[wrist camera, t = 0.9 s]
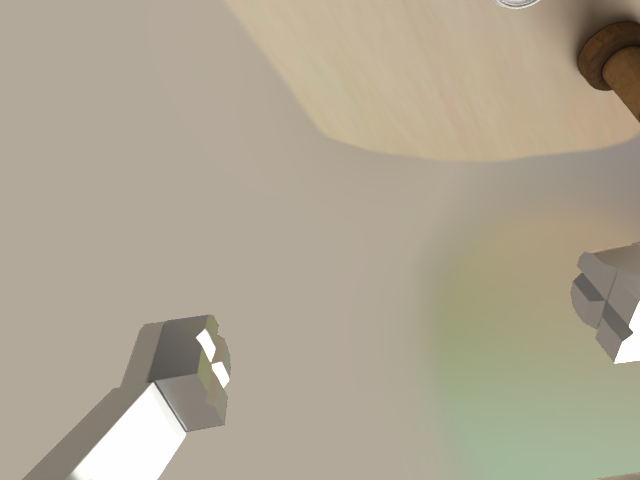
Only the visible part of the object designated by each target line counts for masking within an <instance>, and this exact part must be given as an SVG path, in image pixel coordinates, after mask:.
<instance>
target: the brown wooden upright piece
mask: <svg viewBox="0 0 640 480" xmlns="http://www.w3.org/2000/svg"><path fill="white" fill-rule="evenodd" d="M578 68H579V71H580V73H581V74H582V76H583V77H584V78H585V79H586V81H587V82H588V83H589V84H590V85H591V86H592V87H593V88H595V89H598V90H603V91H609V90H614V92H615V93H616V94H617V95H618V96H619V98H620V99H621V100H622V101H623V103H624V104H625V105H626V106H627V107H628V109H629V110H630V111H631V112H632V114H633V115H634V116H635V117H636V119H637V120H638V121H639V122H640V25H639V24H637V23H634V22H619V23H615V24H612V25H610V26H608V27H606V28H604V29H602V30H600V31H599V32H598V33H596V34H595V35H594V36H593V37H592V38H591V39H590V40H589V41H588V42H587V43H586V44H585V46H584V47H583V49H582V51H581V53H580V55H579V59H578Z"/></svg>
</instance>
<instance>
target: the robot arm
mask: <svg viewBox="0 0 640 480" xmlns="http://www.w3.org/2000/svg"><path fill="white" fill-rule="evenodd" d="M577 267H578V268H579V269H580V270H581V272H582V273H581V274H580V275H579V276H578V277H577V278H576V279H575V280H574V281H573V283H572V288H571V298H572V304H573V307H574V309H575V311H576V313H577V315H578V316H579V317H580V319H581V320H582V321H583V322H584V323H586V324H587V325H590V326H591V327H593V328H595V329H596V337H595V338H596V340H597V341H598V342H599V344H600V345H601V346H602V348H603V349H604V350H605V351H606V353H607V354H608V355H609V357H610V358H611V359H612V360H613V362H614V363H619V362H627V361H634V360H640V242H636V243H632V244H626V245H620V246H615V247H609V248H603V249H598V250H592V251H586V252H584V253H583V254H582V255H581V256H580V257H579V261H578V264H577ZM218 327H219V325H218V323H217V321H216V319H215V317H214V315H203V316H196V317H189V318H182V319H175V320H168V321H165V322H157V323H150V324H145V325H144V326H143V327H142V328H141V329H140V331H139V334H138V337H137V340H136V343H135V346H134V349H133V351H132V354H131V357H130V360H129V363H128V366H127V369H126V372H125V375H124V378H123V381H122V383H121V387H119V388H114V389H112V390H111V391H110V392H109V393H108V394H107V395H106V396H105V397H104V398H103V399H102V400H101V401H100V402H99V403H98V404H97V405H96V406H95V407H94V408H93V409H92V410H91V411H90V412H89V413H88V414H87V415H86V416H85V417H84V418H83V419H82V420H81V421H80V422H79V423H78V424H77V425H76V426H75V427H74V428H73V429H72V430H71V431H70V432H69V434H67V435H66V436H65V437H64V438H63V439H62V440H61V441H60V442H59V443H58V444H57V445H56V446H55V447H54V448H53V449H52V450H51V451H50V452H49V453H48V454H47V455H46V456H45V457H44V458H43V459H42V460H41V461H40V462H39V463H38V464H37V465H36V466H35V467H34V468H33V469H32V470H31V471H30V472H29V473H28V474H27V475H26V476H25V477H24V478H23V479H22V480H157V479H158V477H159V476H160V474H161V473H162V471H163V470H164V468H165V467H166V465H167V464H168V462H169V460H170V459H171V457H172V456H173V454H174V453H175V451H176V450H177V448H178V447H179V445H180V444H181V442H182V441H183V439H184V437H185V436H186V432H189V431H195V430H200V429H205V428H211V427H216V426H221V425H224V424H225V416H226V408H227V399H228V397H227V395H226V393H225V391H224V389H223V387H224V386H225V385H226V383H227V382H228V381H229V379H230V370H231V369H230V368H231V367H230V354H229V350H228V346H227V344H226V341H225V339H224V338H222V337H220V336H219V335H217V334H218ZM592 480H640V472H639V473H632V474H626V475H619V476H612V477H606V478H598V479H592Z"/></svg>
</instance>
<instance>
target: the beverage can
mask: <svg viewBox="0 0 640 480" xmlns="http://www.w3.org/2000/svg"><path fill="white" fill-rule="evenodd" d="M491 1H492V2H493V3H495V4H497V5H499V6H502V7H507V8H511V9H520V8H525V7H528V6H531V5H533V4H535V3H537V2H538V1H540V0H491Z"/></svg>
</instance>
